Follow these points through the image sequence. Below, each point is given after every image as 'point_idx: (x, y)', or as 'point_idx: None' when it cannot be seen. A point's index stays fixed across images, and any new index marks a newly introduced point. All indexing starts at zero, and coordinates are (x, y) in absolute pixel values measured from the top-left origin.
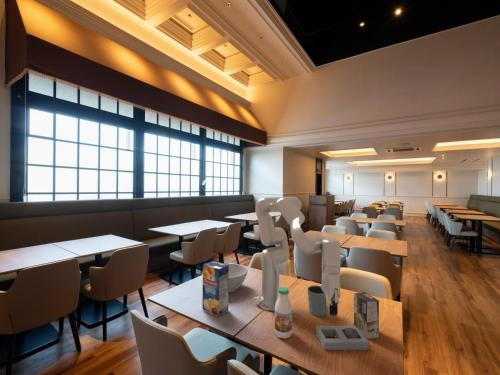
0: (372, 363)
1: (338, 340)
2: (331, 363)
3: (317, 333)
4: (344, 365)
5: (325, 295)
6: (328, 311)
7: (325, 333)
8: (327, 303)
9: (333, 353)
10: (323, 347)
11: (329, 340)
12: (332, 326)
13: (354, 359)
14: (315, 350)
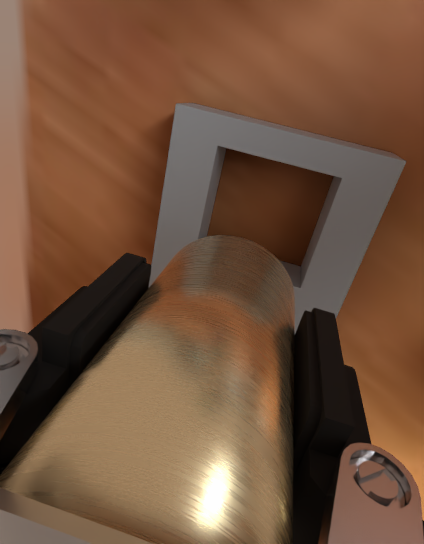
0: (65, 299)
1: (176, 228)
2: (74, 77)
3: (355, 145)
4: (57, 151)
5: (386, 515)
6: (174, 267)
7: (324, 208)
8: (148, 333)
9: (152, 148)
10: (209, 107)
11: (189, 162)
12: (339, 295)
13: (95, 237)
14: (201, 24)
